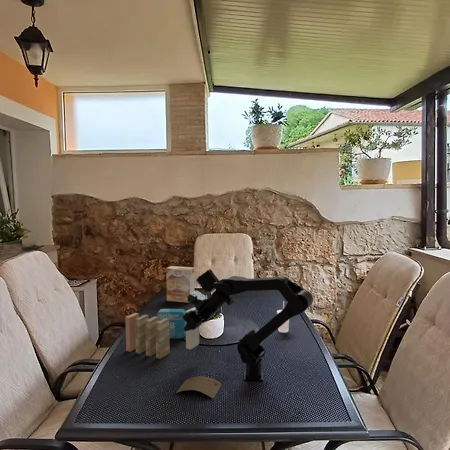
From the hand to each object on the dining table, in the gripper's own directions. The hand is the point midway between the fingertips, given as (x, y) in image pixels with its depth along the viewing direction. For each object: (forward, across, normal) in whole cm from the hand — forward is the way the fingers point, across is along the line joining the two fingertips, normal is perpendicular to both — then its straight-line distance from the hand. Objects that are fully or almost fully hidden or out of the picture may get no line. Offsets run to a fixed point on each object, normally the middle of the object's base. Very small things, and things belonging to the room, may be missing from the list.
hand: (189, 327), depth 147 cm
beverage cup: (-5, -47, +24) cm, 53 cm away
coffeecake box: (+44, -67, -26) cm, 85 cm away
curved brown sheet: (0, +16, +20) cm, 25 cm away
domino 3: (+18, 0, +1) cm, 18 cm away
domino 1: (+25, 0, -6) cm, 26 cm away
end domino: (+29, 0, -10) cm, 30 cm away
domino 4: (+4, 0, +6) cm, 7 cm away
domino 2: (+22, 0, -3) cm, 22 cm away
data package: (+24, -18, -5) cm, 31 cm away
